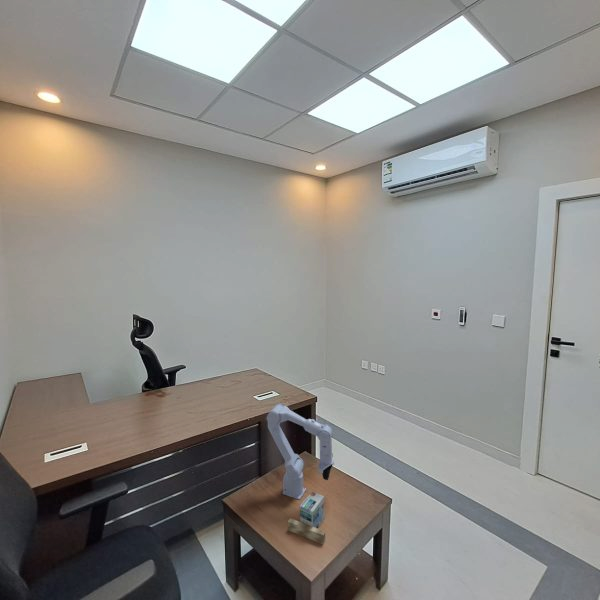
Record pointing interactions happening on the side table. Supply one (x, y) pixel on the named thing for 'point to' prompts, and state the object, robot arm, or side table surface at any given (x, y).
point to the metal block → (306, 531)
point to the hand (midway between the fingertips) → (326, 478)
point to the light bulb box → (312, 510)
